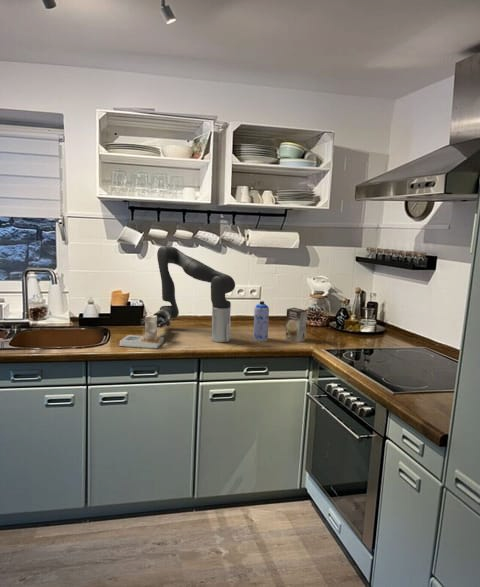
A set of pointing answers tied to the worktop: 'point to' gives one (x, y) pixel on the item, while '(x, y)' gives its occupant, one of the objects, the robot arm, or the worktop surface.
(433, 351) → the worktop surface
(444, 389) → the worktop surface
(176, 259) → the robot arm
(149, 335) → the peg
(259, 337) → the aerosol can
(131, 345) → the grey flat block
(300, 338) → the coffee box
